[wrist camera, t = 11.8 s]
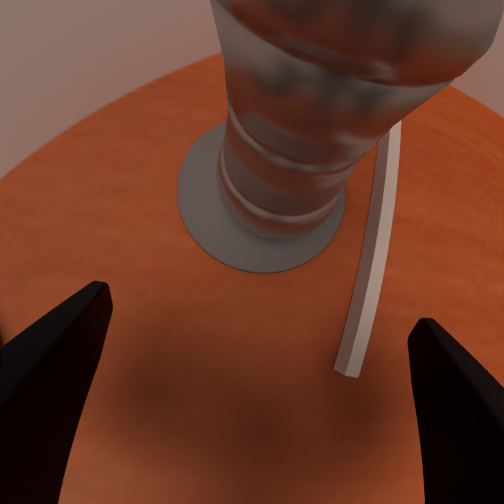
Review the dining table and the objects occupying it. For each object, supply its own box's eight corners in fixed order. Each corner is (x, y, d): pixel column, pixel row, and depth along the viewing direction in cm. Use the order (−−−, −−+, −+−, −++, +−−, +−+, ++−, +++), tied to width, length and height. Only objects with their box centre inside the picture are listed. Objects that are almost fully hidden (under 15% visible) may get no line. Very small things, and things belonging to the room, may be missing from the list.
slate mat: (373, 199, 19) (375, 197, 19) (257, 310, 18) (257, 310, 17) (266, 94, 20) (267, 91, 20) (145, 182, 18) (144, 180, 18)
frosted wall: (380, 111, 20) (391, 96, 18) (390, 115, 20) (401, 101, 18) (333, 368, 17) (344, 375, 15) (345, 371, 17) (358, 377, 15)
